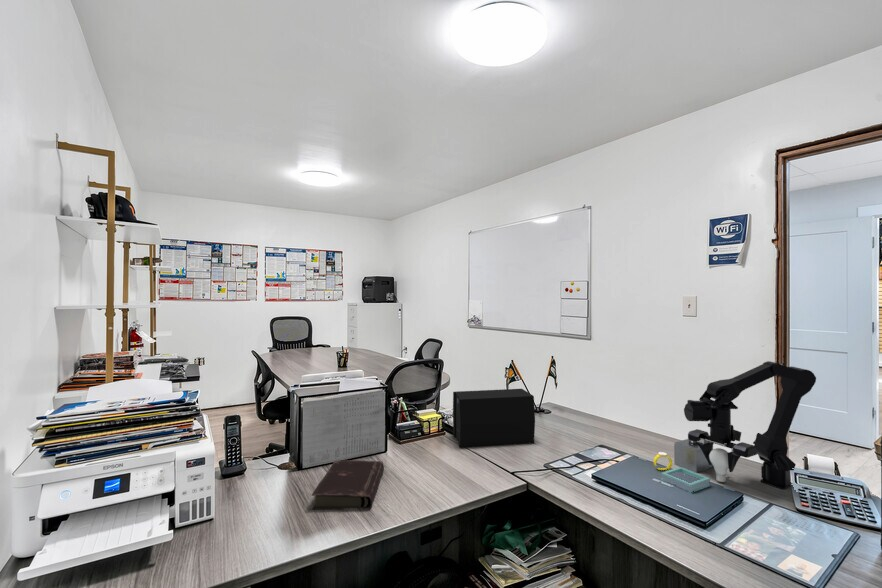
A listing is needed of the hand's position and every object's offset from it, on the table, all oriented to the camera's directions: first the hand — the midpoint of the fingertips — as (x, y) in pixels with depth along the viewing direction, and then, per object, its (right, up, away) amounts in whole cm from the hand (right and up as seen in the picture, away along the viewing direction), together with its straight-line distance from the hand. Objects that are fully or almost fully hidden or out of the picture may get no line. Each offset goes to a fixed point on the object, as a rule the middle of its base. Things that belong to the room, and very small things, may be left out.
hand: (720, 468), depth 135 cm
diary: (-123, -6, -3) cm, 123 cm away
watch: (-14, -5, +10) cm, 18 cm away
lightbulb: (0, -5, 0) cm, 5 cm away
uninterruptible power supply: (-70, -6, +41) cm, 81 cm away
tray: (-12, -5, 0) cm, 13 cm away
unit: (-1, -5, +13) cm, 14 cm away
